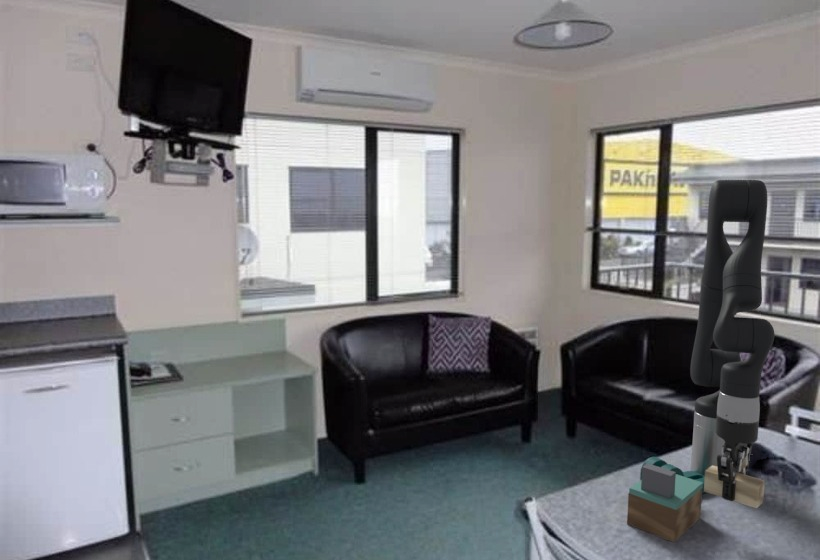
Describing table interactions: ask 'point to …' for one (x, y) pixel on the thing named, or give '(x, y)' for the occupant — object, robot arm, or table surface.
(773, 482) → the table surface
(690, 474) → the bracket
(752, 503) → the pale wooden block
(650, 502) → the open wooden box
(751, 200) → the robot arm
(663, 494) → the lid
